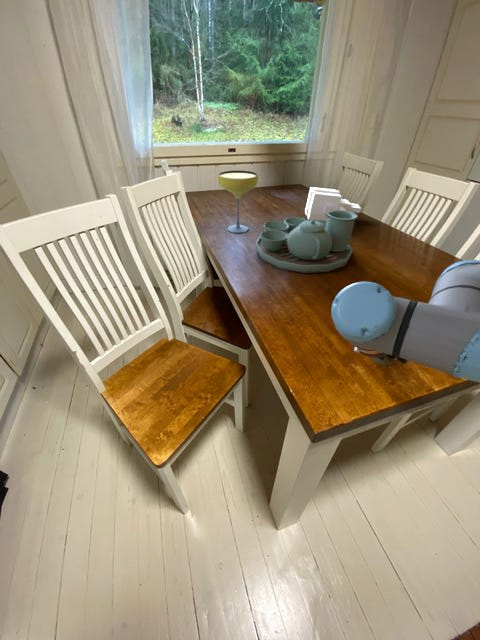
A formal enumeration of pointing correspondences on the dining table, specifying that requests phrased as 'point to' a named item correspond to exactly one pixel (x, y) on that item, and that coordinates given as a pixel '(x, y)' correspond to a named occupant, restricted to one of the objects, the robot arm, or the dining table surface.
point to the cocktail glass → (238, 190)
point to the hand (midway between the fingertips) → (381, 353)
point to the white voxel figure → (326, 203)
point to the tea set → (308, 242)
